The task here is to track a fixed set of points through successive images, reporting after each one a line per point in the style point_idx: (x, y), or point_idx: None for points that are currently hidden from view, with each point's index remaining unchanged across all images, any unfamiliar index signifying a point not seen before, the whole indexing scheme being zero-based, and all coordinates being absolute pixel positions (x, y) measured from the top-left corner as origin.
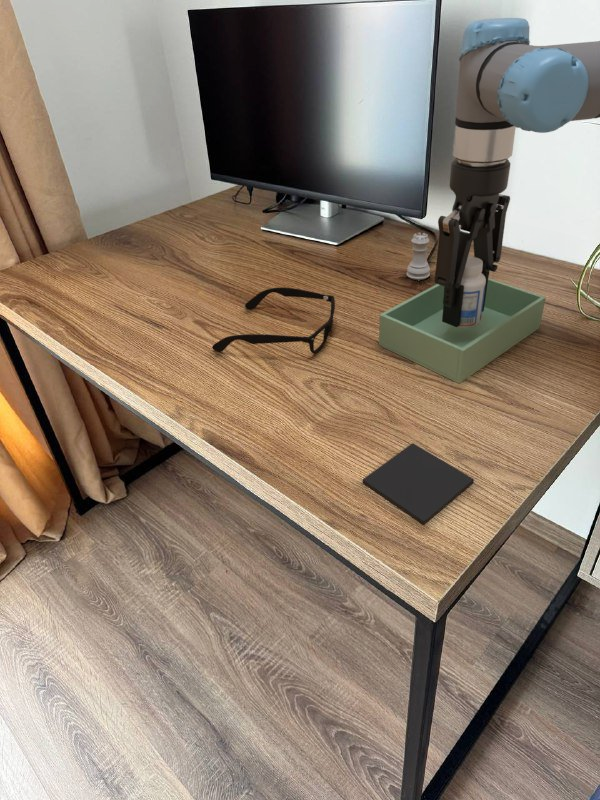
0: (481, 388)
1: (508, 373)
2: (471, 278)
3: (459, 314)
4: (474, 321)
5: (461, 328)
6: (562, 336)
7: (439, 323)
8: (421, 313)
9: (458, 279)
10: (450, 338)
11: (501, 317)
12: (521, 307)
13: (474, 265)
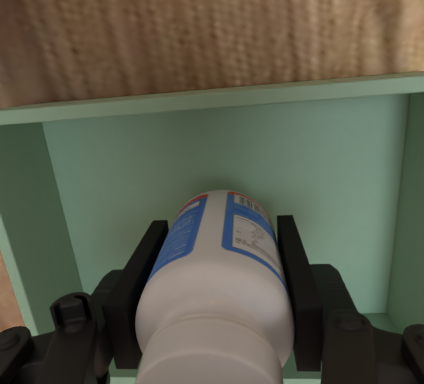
0: (399, 11)
1: (281, 9)
2: (245, 316)
3: (289, 234)
4: (234, 196)
5: None
6: (13, 31)
7: None
8: None
9: (358, 343)
10: None
11: (80, 199)
12: (28, 172)
13: (225, 371)
